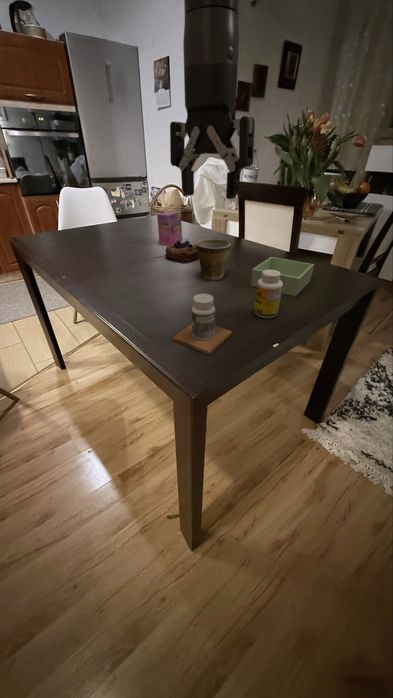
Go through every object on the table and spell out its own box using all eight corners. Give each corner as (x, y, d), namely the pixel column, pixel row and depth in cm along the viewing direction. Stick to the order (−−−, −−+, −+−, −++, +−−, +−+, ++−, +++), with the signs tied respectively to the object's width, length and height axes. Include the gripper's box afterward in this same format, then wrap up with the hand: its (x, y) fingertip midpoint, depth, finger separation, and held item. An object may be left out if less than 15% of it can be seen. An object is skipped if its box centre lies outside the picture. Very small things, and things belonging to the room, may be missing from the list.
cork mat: (231, 334, 61) (232, 331, 60) (209, 355, 55) (209, 351, 54) (197, 322, 65) (197, 319, 64) (173, 340, 59) (172, 337, 58)
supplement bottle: (251, 308, 70) (256, 268, 64) (274, 308, 70) (280, 267, 64) (256, 319, 65) (261, 277, 60) (280, 319, 66) (287, 276, 60)
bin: (310, 280, 84) (314, 264, 81) (295, 296, 75) (299, 278, 72) (268, 272, 90) (270, 256, 87) (250, 286, 82) (252, 269, 79)
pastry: (186, 264, 97) (185, 247, 94) (161, 258, 103) (159, 242, 100) (205, 256, 104) (205, 240, 101) (180, 251, 110) (179, 235, 107)
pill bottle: (193, 327, 61) (193, 292, 56) (215, 329, 61) (216, 293, 56) (190, 339, 57) (189, 302, 53) (213, 341, 57) (214, 303, 52)
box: (171, 246, 116) (168, 214, 110) (159, 244, 118) (156, 214, 112) (182, 240, 124) (181, 210, 117) (171, 238, 126) (169, 209, 119)
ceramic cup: (232, 280, 85) (235, 246, 79) (200, 283, 83) (200, 249, 78) (220, 266, 95) (222, 235, 90) (192, 269, 94) (191, 237, 88)
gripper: (269, 63, 39) (256, 197, 48) (185, 76, 45) (188, 192, 55) (245, 51, 34) (235, 203, 43) (154, 68, 40) (163, 196, 49)
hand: (209, 196), depth 49 cm, fingers open, 8 cm apart
